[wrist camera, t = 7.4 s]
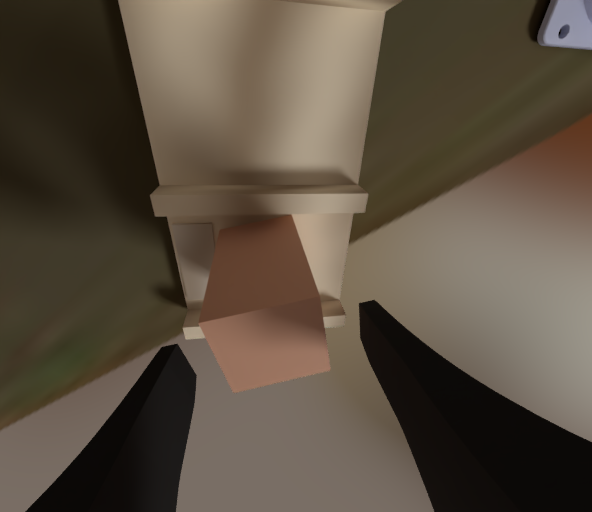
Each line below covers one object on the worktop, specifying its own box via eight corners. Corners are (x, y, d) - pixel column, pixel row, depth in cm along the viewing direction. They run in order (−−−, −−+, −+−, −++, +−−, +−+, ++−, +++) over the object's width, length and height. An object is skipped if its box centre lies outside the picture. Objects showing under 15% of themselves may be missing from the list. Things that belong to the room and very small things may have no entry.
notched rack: (441, -438, 7) (526, -673, 5) (334, 301, 20) (344, 326, 18) (-1, -603, 5) (-159, -1047, 3) (193, 311, 18) (185, 339, 16)
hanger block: (291, 214, 15) (319, 296, 9) (302, 272, 17) (330, 370, 11) (219, 229, 14) (198, 323, 8) (239, 286, 17) (233, 393, 11)
